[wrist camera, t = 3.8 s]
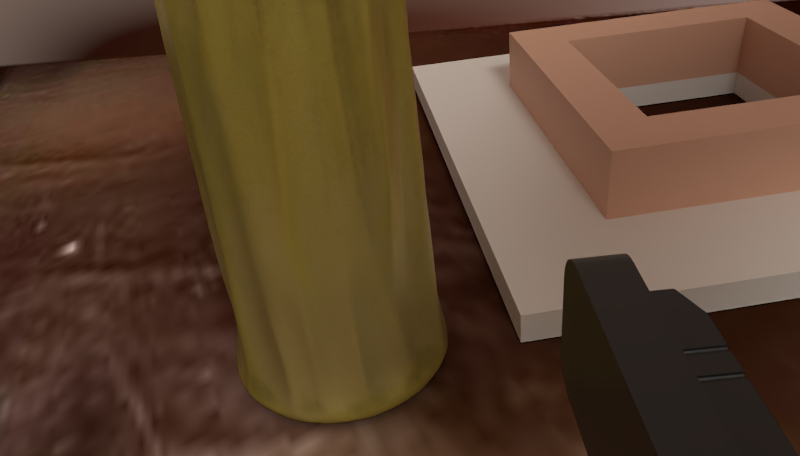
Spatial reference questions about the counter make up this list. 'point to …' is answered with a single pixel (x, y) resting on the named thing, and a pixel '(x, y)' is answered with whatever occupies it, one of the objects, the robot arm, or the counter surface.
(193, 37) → the vase
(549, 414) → the counter surface
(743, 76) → the socket stand
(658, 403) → the robot arm
